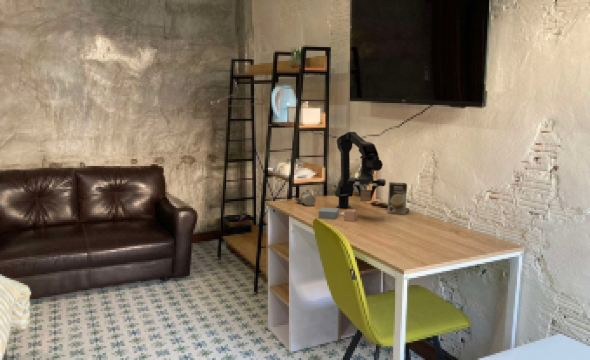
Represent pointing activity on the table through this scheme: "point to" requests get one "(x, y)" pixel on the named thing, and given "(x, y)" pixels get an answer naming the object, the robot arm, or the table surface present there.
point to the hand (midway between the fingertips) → (366, 198)
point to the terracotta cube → (350, 215)
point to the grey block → (329, 213)
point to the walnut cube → (365, 195)
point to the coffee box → (397, 198)
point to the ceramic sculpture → (307, 198)
